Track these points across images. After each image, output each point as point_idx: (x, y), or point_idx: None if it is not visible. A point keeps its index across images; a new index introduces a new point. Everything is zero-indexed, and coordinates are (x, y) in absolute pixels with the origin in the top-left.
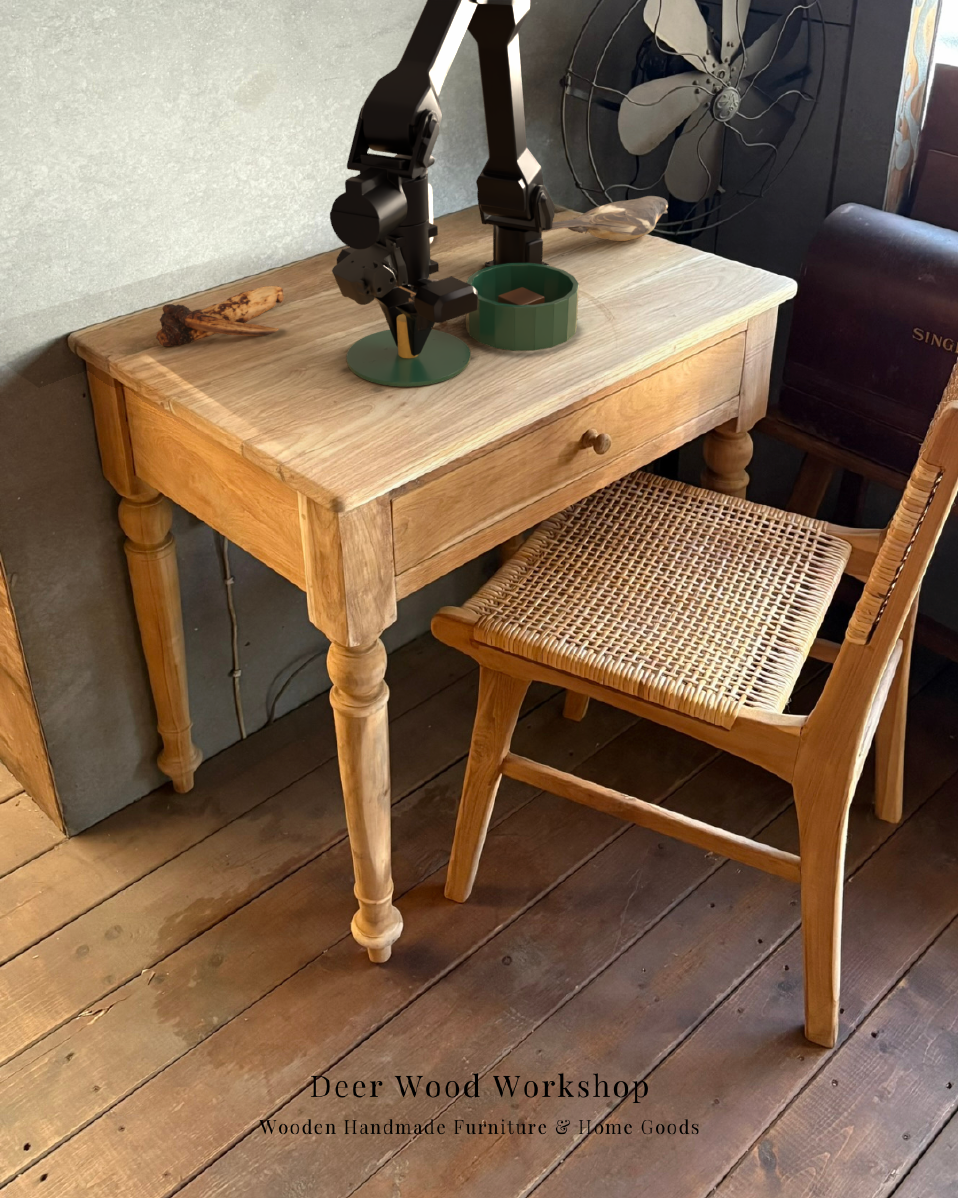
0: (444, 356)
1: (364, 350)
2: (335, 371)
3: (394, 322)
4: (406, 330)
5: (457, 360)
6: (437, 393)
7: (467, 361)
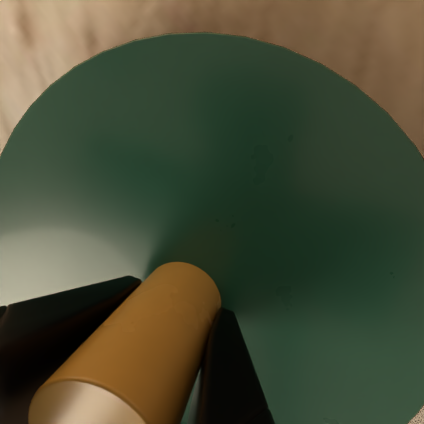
0: None
1: (363, 239)
2: (415, 71)
3: (201, 396)
4: (89, 339)
5: None
6: None
7: None
